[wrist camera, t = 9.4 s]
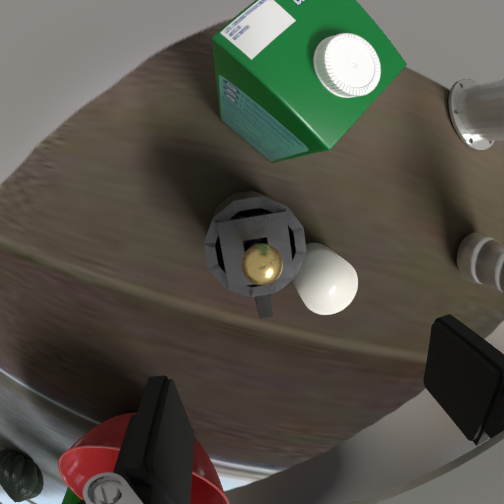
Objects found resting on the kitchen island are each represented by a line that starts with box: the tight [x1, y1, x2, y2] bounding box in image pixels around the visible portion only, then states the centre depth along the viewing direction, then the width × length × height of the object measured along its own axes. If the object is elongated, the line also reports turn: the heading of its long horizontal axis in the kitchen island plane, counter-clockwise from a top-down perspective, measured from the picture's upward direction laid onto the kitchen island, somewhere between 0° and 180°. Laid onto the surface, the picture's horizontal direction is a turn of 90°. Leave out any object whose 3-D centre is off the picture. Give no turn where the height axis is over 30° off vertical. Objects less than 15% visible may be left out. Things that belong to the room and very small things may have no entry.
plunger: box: [230, 208, 283, 285], centre depth 30 cm, size 6×6×16 cm
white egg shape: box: [292, 243, 358, 315], centre depth 39 cm, size 7×7×8 cm
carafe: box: [203, 190, 307, 318], centre depth 35 cm, size 9×12×13 cm
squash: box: [0, 449, 43, 502], centre depth 45 cm, size 14×15×15 cm
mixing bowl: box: [58, 413, 229, 504], centre depth 41 cm, size 28×28×15 cm
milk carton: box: [211, 0, 406, 163], centre depth 25 cm, size 9×9×25 cm
